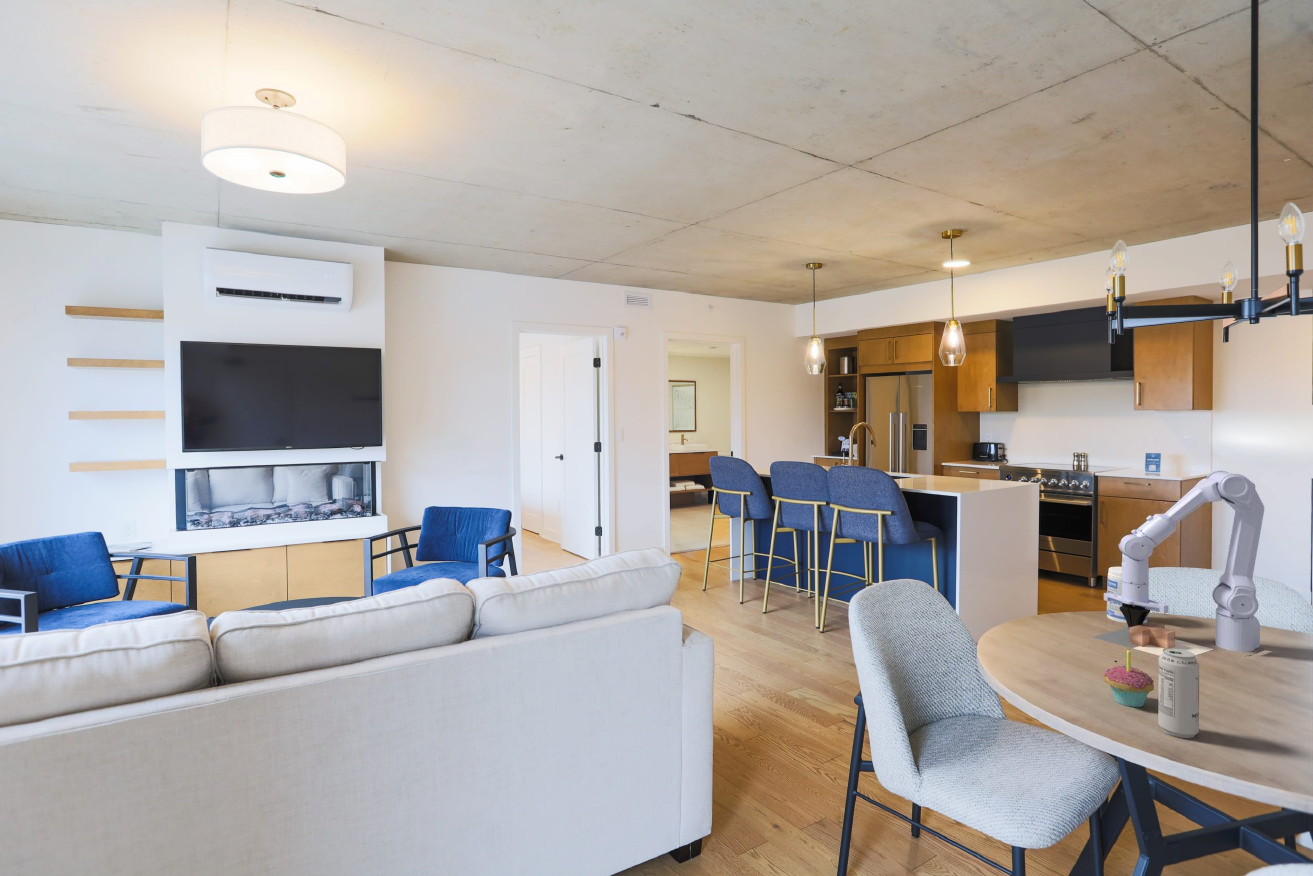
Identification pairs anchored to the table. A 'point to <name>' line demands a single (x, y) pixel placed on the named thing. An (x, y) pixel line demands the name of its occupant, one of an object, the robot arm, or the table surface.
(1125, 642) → the board
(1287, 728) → the table surface
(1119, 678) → the cupcake
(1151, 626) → the t block
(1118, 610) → the supplement tub
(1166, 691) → the energy drink can
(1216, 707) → the table surface
